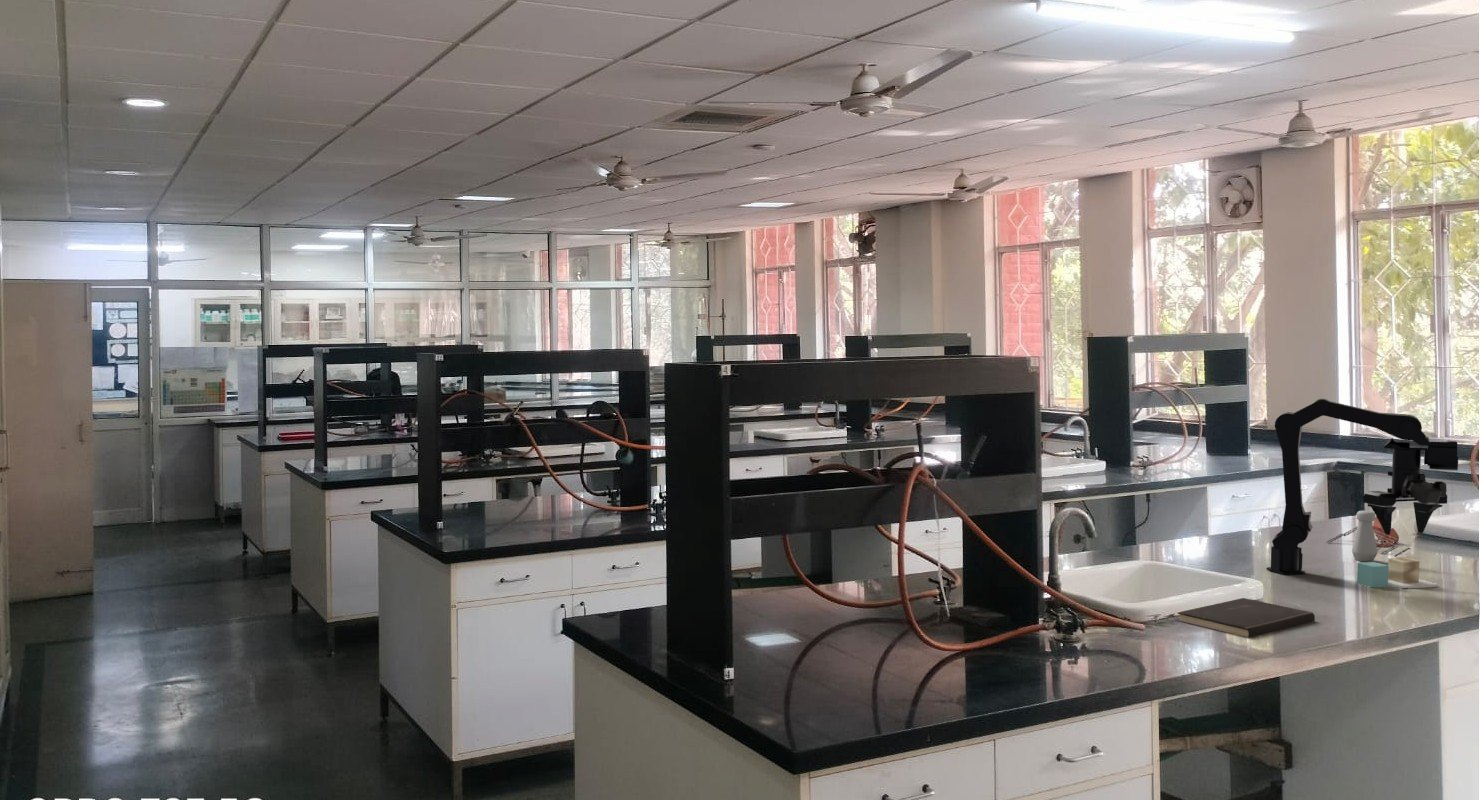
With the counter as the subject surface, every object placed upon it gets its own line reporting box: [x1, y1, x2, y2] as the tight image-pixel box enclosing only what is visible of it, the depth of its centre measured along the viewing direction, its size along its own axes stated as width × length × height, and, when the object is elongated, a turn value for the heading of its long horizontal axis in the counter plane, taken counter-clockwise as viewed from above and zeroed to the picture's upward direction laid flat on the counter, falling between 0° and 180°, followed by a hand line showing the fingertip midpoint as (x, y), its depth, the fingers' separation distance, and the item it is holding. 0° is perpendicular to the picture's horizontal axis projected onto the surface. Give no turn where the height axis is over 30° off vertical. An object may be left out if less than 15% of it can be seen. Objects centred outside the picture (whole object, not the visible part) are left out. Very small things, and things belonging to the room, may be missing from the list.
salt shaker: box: [1351, 510, 1378, 563], centre depth 291 cm, size 6×6×13 cm
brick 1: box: [1356, 561, 1389, 588], centre depth 263 cm, size 4×4×5 cm
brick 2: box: [1387, 557, 1420, 583], centre depth 265 cm, size 4×4×5 cm
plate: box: [1388, 578, 1439, 589], centre depth 265 cm, size 10×10×1 cm
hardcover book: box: [1177, 597, 1316, 639], centre depth 230 cm, size 16×23×2 cm
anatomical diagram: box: [1327, 515, 1411, 558], centre depth 309 cm, size 21×9×25 cm
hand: (1404, 533), depth 264 cm, fingers open, 9 cm apart
